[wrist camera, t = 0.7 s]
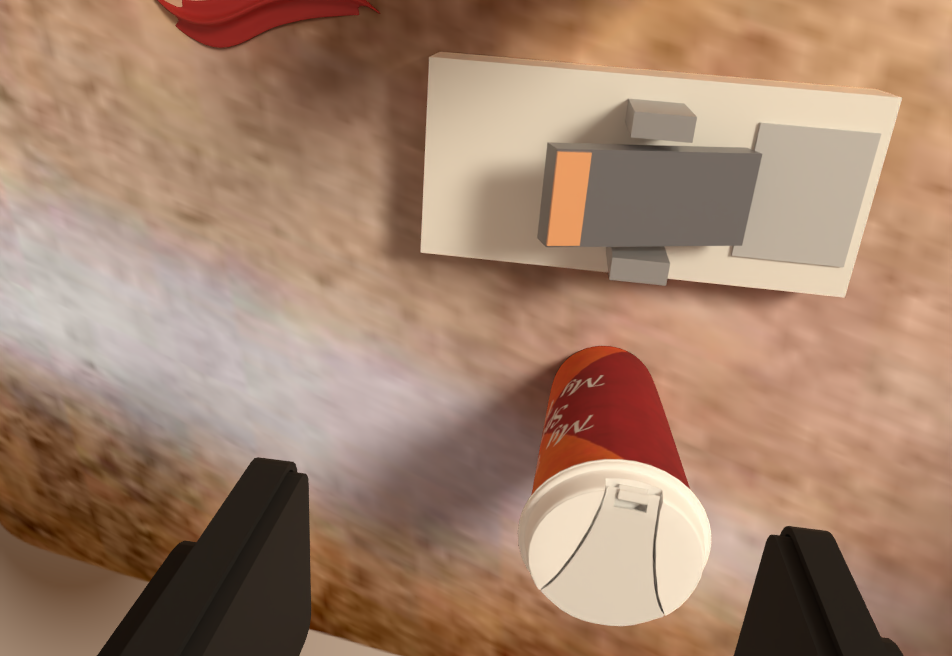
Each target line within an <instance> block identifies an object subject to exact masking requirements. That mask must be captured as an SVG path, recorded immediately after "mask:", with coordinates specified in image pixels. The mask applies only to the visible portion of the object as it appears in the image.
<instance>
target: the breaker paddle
mask: <svg viewBox="0 0 952 656" xmlns="http://www.w3.org/2000/svg"><path fill="white" fill-rule="evenodd" d="M761 158H762V153H759V152H757V151H754V150H752V149H749V148H742V147H704V146H666V145H629V144H591V143H553V142H547V151H546V161H545V170H544V179H543V188H542V198H541V207H540V216H539V225H538V235H537V238H538V239H539V240H540V242H541V243H542V244H543V245H544V246H545V247H640V246H742V244H743V239H744V235H745V230H746V226H747V221H748V217H749V212H750V208H751V203H752V199H753V194H754V190H755V185H756V181H757V176H758V172H759V167H760V163H761Z"/></svg>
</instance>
